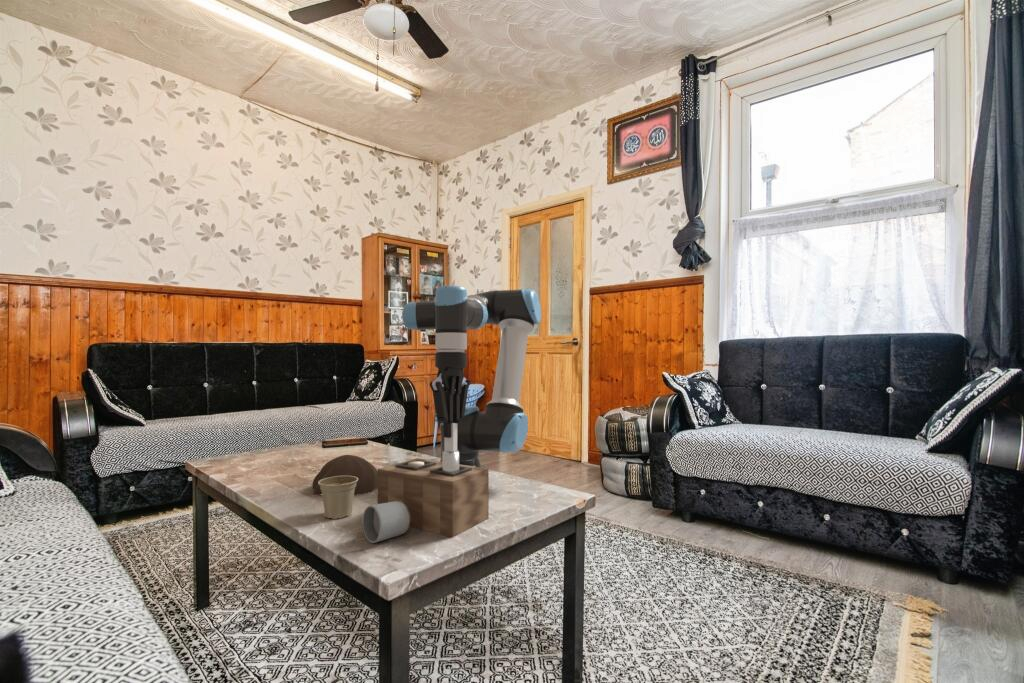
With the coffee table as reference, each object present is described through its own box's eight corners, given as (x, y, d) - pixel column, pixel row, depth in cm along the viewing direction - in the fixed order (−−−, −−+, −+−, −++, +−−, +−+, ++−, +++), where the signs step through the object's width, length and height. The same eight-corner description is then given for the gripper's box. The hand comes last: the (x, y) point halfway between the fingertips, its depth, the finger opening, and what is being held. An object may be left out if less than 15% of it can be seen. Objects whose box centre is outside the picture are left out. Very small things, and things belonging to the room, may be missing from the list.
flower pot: (314, 512, 121) (315, 478, 121) (353, 506, 126) (353, 473, 126) (321, 524, 113) (321, 487, 113) (362, 517, 118) (362, 481, 118)
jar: (447, 509, 123) (447, 462, 123) (438, 501, 130) (438, 456, 131) (480, 505, 127) (480, 459, 127) (469, 496, 134) (469, 453, 135)
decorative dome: (312, 501, 131) (312, 464, 131) (312, 483, 149) (312, 451, 150) (384, 493, 139) (385, 458, 139) (376, 477, 157) (376, 446, 157)
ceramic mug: (413, 536, 105) (412, 500, 105) (380, 547, 99) (379, 509, 99) (386, 525, 112) (386, 492, 113) (353, 535, 106) (353, 500, 107)
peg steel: (449, 495, 117) (449, 449, 117) (462, 497, 114) (462, 451, 115) (438, 499, 113) (439, 452, 113) (452, 502, 111) (452, 454, 111)
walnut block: (417, 503, 128) (417, 455, 129) (488, 518, 117) (488, 466, 117) (377, 518, 116) (377, 466, 117) (452, 537, 105) (452, 478, 105)
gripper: (455, 351, 122) (455, 444, 122) (420, 351, 111) (420, 453, 110) (479, 351, 118) (479, 447, 118) (446, 350, 107) (445, 457, 106)
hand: (450, 450), depth 114 cm, fingers closed
